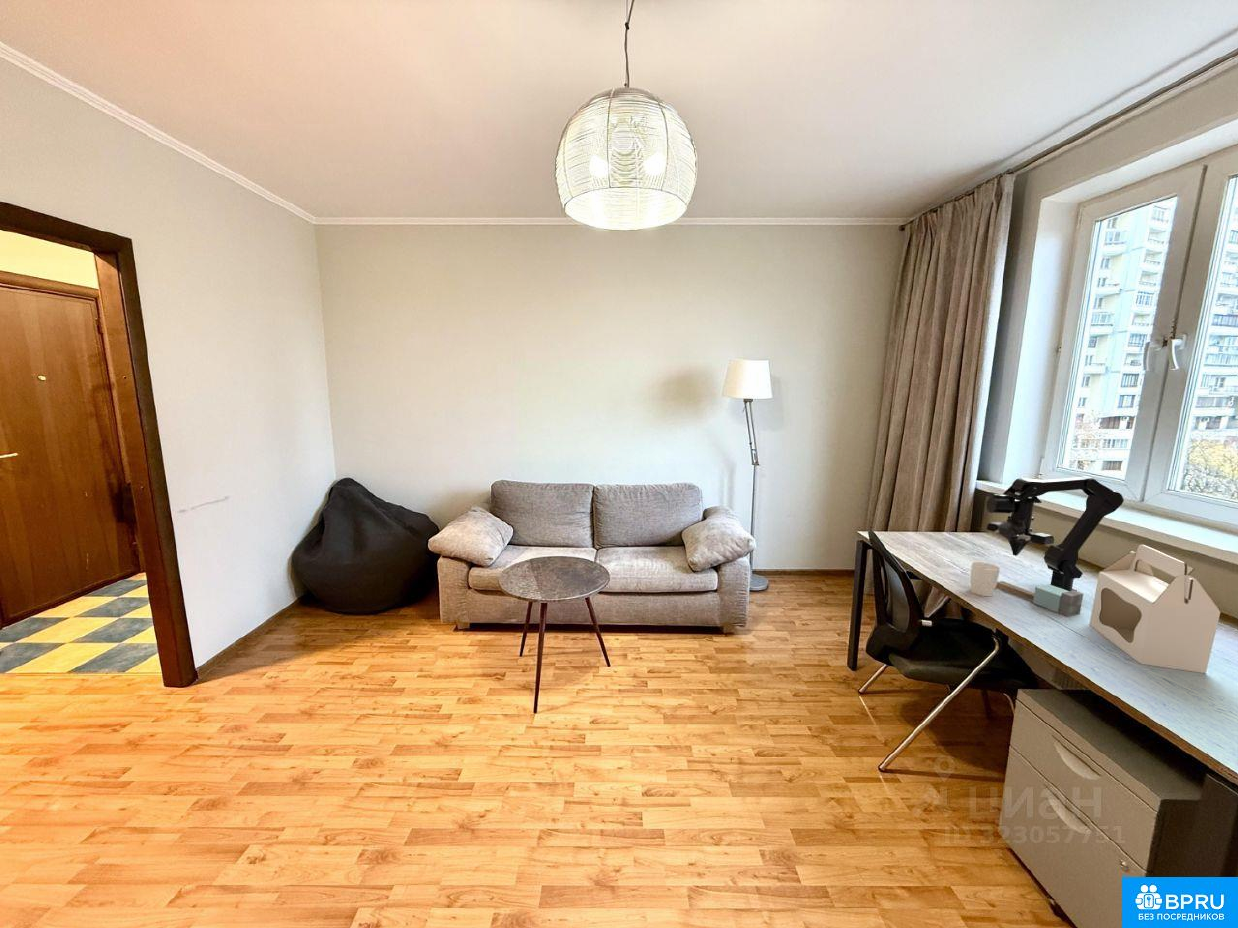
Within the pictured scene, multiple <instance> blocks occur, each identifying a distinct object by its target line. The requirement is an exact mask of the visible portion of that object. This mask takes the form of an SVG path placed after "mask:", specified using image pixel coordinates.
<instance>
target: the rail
mask: <svg viewBox="0 0 1238 928" xmlns="http://www.w3.org/2000/svg"><path fill="white" fill-rule="evenodd" d="M996 588H998V589H1000V590H1002V591H1005V592H1007V593H1010V594H1013V595H1016V596H1017V597H1020V598H1022V599H1026V600H1029V601H1031V602H1033V599H1034V593H1035V591H1030V590H1028V589H1025V588H1022V587H1019V586H1018V585H1015V584H1012V583H1010V582H1006V581H1004V580H1001V581H997V585H996ZM1083 599H1084V593H1083V592H1080V591H1078V590H1077V591H1074V590H1073V591H1068V592H1063V593H1062V595H1061V601H1060V607H1059V612H1057V613H1058V614H1060V615H1064V616H1065V617H1067V618H1069V617H1072V616H1076V615H1080V614H1081V610H1082V604H1083Z"/></svg>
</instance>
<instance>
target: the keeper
mask: <svg viewBox="0 0 1238 928" xmlns="http://www.w3.org/2000/svg"><path fill="white" fill-rule="evenodd" d="M1050 584H1051V583H1050ZM1050 584H1045V585H1038V586H1035V588H1034V599H1033V601H1032V604H1035V605H1036V606H1037V605H1038V606H1041V607H1043V608H1045V609H1048V610H1051V611H1053V612H1056V613H1058V612H1059V607H1060V601H1061V595H1062V593H1063V592H1068V591H1067V590H1064V589H1061V588H1058V587H1055V586H1053V585H1050Z"/></svg>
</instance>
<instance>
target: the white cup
mask: <svg viewBox="0 0 1238 928" xmlns="http://www.w3.org/2000/svg"><path fill="white" fill-rule="evenodd" d="M1000 571H1001V569H1000V567H999V566H997V565H995V564H991V563H989V562H985V561H974V562H971V569H970V588H969V589H970V590H969V591H971V592H972V593H973V594H976V595H979V596H983V597H993V596H995V591H996V588H997V587H996V585H997V582H998V579H999V575H1000Z"/></svg>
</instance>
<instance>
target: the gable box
mask: <svg viewBox="0 0 1238 928" xmlns="http://www.w3.org/2000/svg"><path fill="white" fill-rule="evenodd" d="M1151 566H1152V567H1153V568H1155V569H1158V570H1160V571H1162V572H1164V573H1165V574H1168V575H1170V576H1172V577H1173V579H1172V581H1171V582H1169V583H1167V582H1166V581H1163V580H1161V579H1159V578H1157V577H1155V574H1154V573H1153V572H1154V571H1153V570H1152V568H1151ZM1193 571H1195V568H1193V567H1191V566H1189V565H1187V563H1186V562H1184V561H1183V560H1179V559H1177V558H1175V557H1174V556H1170V555H1168V554H1165V553H1164V552H1162V551H1159V550H1157V549H1155V548H1152V547H1150V546H1147V545H1145V544H1139V545H1138V547H1137V550H1136V551H1132V550H1130V552H1128V553H1127V554H1125V555H1123V556H1122V557H1120V558H1118V559H1117V560H1115V561H1114V562H1112V563H1111V564H1109V565H1108V566H1107V567H1104V568H1103V569H1102V570H1101V571H1099V572H1098V576H1097V577H1098V578H1097V582H1096V589H1095V593H1094V598H1093V604H1092V609H1091V614H1090V618H1089V626H1090V627H1092V628H1093V629H1094V630H1095V631H1097V633H1100V634H1101V635H1102V636H1103V637H1105V639H1107V640H1109V641H1110V642H1111V643H1112V644H1114V645H1115V646H1117V647H1118V648H1119V649H1120V650H1122V651H1123V652H1125V653H1126V654H1127V655H1128V656H1130V658H1132V659H1133V660H1135V661H1136V662H1137V663H1139V664H1140V665H1146V666H1153V667H1159V668H1166V669H1175V670H1180V671H1185V672H1186V671H1187V672H1192V673H1201V674H1206V673H1207V670H1208V666H1209V661H1210V657H1211V653H1212V649H1213V645H1214V641H1215V636H1216V633H1217V630H1218V629H1217V627H1218V623H1219V619H1220V617H1221V616H1220V615H1221V609H1219V608H1218V606H1217V605H1216V604H1215V603H1214V601H1213V600H1212V598H1211V597H1210V596H1209V595H1208V593H1207V591H1205V589H1204V588H1203V586H1202V585H1201V583H1200V582H1199V581H1198V580H1197V579H1196V578H1195V577H1193V576H1192V575H1190V574H1192V573H1193Z"/></svg>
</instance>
